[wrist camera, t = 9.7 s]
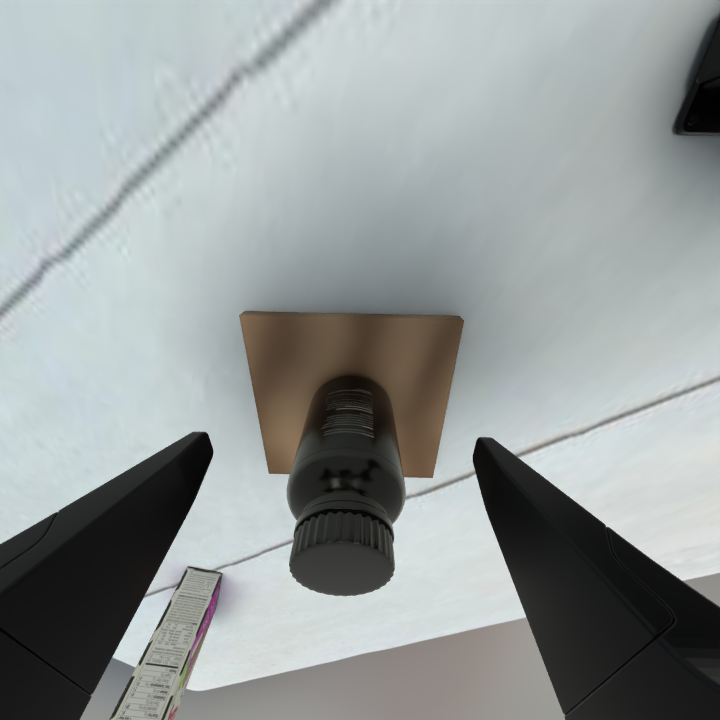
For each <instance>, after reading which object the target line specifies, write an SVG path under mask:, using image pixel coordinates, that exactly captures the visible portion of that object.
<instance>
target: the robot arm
mask: <svg viewBox="0 0 720 720" xmlns="http://www.w3.org/2000/svg"><path fill="white" fill-rule="evenodd" d="M690 118H691V123H690V125H689V124H688V122H689V119H690ZM675 128H676V132H677V133H678V134H681V135H720V21H719V24H718V26H717V28H716V31H715V33H714V35H713V38H712V40H711V42H710V45H709V47H708V50H707V52H706V54H705V57H704V59H703V61H702V64H701V66H700V69H699V71H698V73H697V76H696V78H695V80H694V83H693V85H692V88H691V90H690V92H689V95H688V97H687V99H686V102H685V104H684V106H683V109H682V111H681V114H680V116H679V118H678V121H677V123H676V127H675ZM212 457H213V448H212V445H211V442H210V439H209V436H208V434H207V433H206V432H192V433H190V434H188V435H187V436H185V437H183V438H182V439H180V440H178V441H177V442H175V443H173V444H171V445H170V446H168V447H166V448H165V449H163V450H161V451H159V452H158V453H156V454H154V455H153V456H151V457H149V458H148V459H146V460H144V461H142V462H141V463H139V464H137V465H136V466H134V467H132V468H131V469H129V470H127V471H125V472H124V473H122V474H120V475H119V476H117V477H115V478H113V479H112V480H110V481H108V482H107V483H105V484H103V485H102V486H100V487H98V488H96V489H95V490H93V491H91V492H90V493H88V494H86V495H85V496H83V497H81V498H79V499H78V500H76V501H74V502H73V503H71V504H69V505H67V506H66V507H64V508H62V509H61V510H59V512H56V513H54V514H52V515H50V516H49V517H47V518H45V519H44V520H42V521H40V522H38V523H37V524H35V525H33V526H32V527H30V528H28V529H26V530H25V531H23V532H21V533H19V534H18V535H16V536H14V537H12V538H11V539H9V540H7V541H5V542H3V543H2V544H0V720H80V718H81V716H82V714H83V712H84V710H85V708H86V706H87V704H88V702H89V701H90V699H91V694H93V692H94V691H95V689H96V687H97V685H98V683H99V681H100V679H101V677H102V675H103V674H104V672H105V670H106V668H107V666H108V664H109V662H110V660H111V658H112V656H113V655H114V653H115V651H116V649H117V647H118V645H119V643H120V641H121V639H122V638H123V636H124V634H125V632H126V630H127V628H128V626H129V624H130V622H131V620H132V619H133V617H134V615H135V613H136V611H137V609H138V607H139V605H140V603H141V601H142V600H143V598H144V596H145V594H146V592H147V590H148V588H149V586H150V584H151V583H152V581H153V579H154V577H155V575H156V573H157V571H158V569H159V567H160V565H161V564H162V562H163V560H164V558H165V556H166V554H167V552H168V550H169V548H170V546H171V545H172V543H173V541H174V539H175V537H176V535H177V533H178V531H179V529H180V527H181V526H182V524H183V522H184V520H185V518H186V516H187V514H188V512H189V510H190V508H191V506H192V504H193V502H194V500H195V498H196V496H197V494H198V491H199V489H200V486H201V484H202V481H203V479H204V476H205V474H206V472H207V469H208V467H209V464H210V462H211V459H212ZM473 464H474V468H475V471H476V475H477V479H478V483H479V487H480V490H481V494H482V498H483V502H484V505H485V508H486V511H487V514H488V517H489V520H490V522H491V525H492V527H493V530H494V533H495V535H496V538H497V541H498V543H499V546H500V548H501V551H502V554H503V556H504V559H505V562H506V564H507V567H508V570H509V572H510V575H511V577H512V580H513V583H514V585H515V588H516V591H517V593H518V596H519V598H520V601H521V604H522V606H523V609H524V612H525V614H526V617H527V619H528V622H529V625H530V627H531V630H532V633H533V635H534V638H535V640H536V643H537V646H538V648H539V651H540V653H541V656H542V659H543V661H544V664H545V666H546V669H547V672H548V675H549V677H550V680H551V682H552V685H553V688H554V690H555V693H556V696H557V698H558V701H559V703H560V706H561V708H562V711H563V713H564V714H565V720H720V607H719V606H718V605H716V604H715V603H713V602H712V601H710V600H709V599H707V598H706V597H705V596H703V595H702V594H700V593H699V592H697V591H696V590H694V589H693V588H691V587H690V586H689V585H687V584H686V583H684V582H683V581H681V580H680V579H679V578H677V577H676V576H674V575H673V574H672V573H670V572H669V571H667V570H666V569H664V568H663V567H662V566H660V565H659V564H657V563H656V562H655V561H653V560H652V559H650V558H649V557H648V556H646V555H645V554H644V553H642V552H641V551H640V550H638V549H637V548H636V547H634V546H633V545H632V544H630V543H629V542H628V541H626V540H625V539H624V538H622V537H621V536H620V535H618V534H617V533H616V532H614V531H613V530H612V529H610V528H609V527H606V525H605V524H604V523H603V522H601V521H600V520H599V519H597V518H596V517H595V516H593V515H592V514H591V513H589V512H588V511H587V510H586V509H584V508H583V507H582V506H580V505H579V504H578V503H576V502H575V501H574V500H572V499H571V498H570V497H569V496H567V495H566V494H565V493H563V492H562V491H561V490H559V489H558V488H557V487H555V486H554V485H553V484H552V483H550V482H549V481H548V480H546V479H545V478H544V477H542V476H541V475H540V474H539V473H537V472H536V471H535V470H533V469H532V468H531V467H529V466H528V465H527V464H525V463H524V462H523V461H522V460H520V459H519V458H518V457H516V456H515V455H514V454H512V453H511V452H510V451H508V450H507V449H506V448H505V447H503V446H502V445H501V444H499V443H498V442H497V441H495V440H494V439H493V438H490V437H479V438H478V439H477V441H476V445H475V449H474V453H473Z"/></svg>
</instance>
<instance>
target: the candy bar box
mask: <svg viewBox="0 0 720 720" xmlns="http://www.w3.org/2000/svg"><path fill="white" fill-rule="evenodd" d="M221 575H222V574H221V573H218V572H214V571H208V570H202V569H195V568H189V567H188V568H187V569H186V571H185V573H184V575H183V577H182V579H181V581H180V583H179V585H178V586H177V588H176V590H175V592H174V594H173V596H172V598H171V600H170V602H169V604H168V606H167V608H166V610H165V612H164V614H163V616H162V618H161V620H160V622H159V624H158V626H157V628H156V630H155V631H154V633H153V635H152V637H151V639H150V641H149V643H148V645H147V647H146V649H145V651H144V653H143V655H142V657H141V659H140V661H139V663H138V665H137V667H136V669H135V671H134V672H133V674H132V676H131V679H130V680H129V682H128V684H127V686H126V688H125V690H124V692H123V694H122V696H121V698H120V700H119V702H118V704H117V706H116V708H115V710H114V712H113V714H112V716H111V718H110V720H174V718H175V715H176V713H177V710H178V707H179V705H180V702H181V699H182V697H183V694H184V692H185V689H186V686H187V684H188V681H189V678H190V676H191V673H192V670H193V668H194V665H195V663H196V660H197V657H198V655H199V652H200V649H201V647H202V644H203V641H204V639H205V636H206V633H207V631H208V628H209V625H210V623H211V620H212V618H213V615H214V612H215V609H216V603H217V597H218V591H219V586H220V580H221Z"/></svg>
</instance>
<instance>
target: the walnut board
mask: <svg viewBox="0 0 720 720" xmlns="http://www.w3.org/2000/svg"><path fill="white" fill-rule="evenodd" d="M239 316H240V322H241V327H242V332H243V338H244V343H245V348H246V354H247V359H248V364H249V370H250V375H251V380H252V386H253V391H254V396H255V402H256V407H257V412H258V418H259V423H260V428H261V434H262V439H263V444H264V450H265V455H266V460H267V466H268V471H269V474H290V473H291V469H292V466H293V462H294V459H295V455H296V452H297V448H298V445H299V441H300V438H301V434H302V431H303V427H304V424H305V420H306V417H307V413H308V410H309V407H310V403H311V400H312V398H313V396H314V394H315V392H316V391H317V390H318V389H319V388H320V387H321V386H322V385H323V384H324V383H326V382H327V381H329V380H331V379H334V378H337V377H341V376H348V375H353V376H361V377H365V378H367V379H370V380H372V381H374V382H376V383H377V384H378V385H380V386H381V387H382V388H383V389H384V390H385V391H386V393H387V394H388V396H389V398H390V400H391V404H392V408H393V413H394V419H395V426H396V432H397V438H398V444H399V451H400V457H401V463H402V469H403V476H404V477H418V478H433V474H434V469H435V464H436V459H437V454H438V449H439V444H440V438H441V433H442V428H443V423H444V418H445V413H446V408H447V403H448V398H449V393H450V388H451V383H452V378H453V373H454V368H455V363H456V358H457V353H458V348H459V343H460V338H461V333H462V328H463V323H464V320H463V319H462V318H461V317H460V316H431V315H386V314H342V313H298V312H254V311H245V312H243V313H242V314H240V315H239Z"/></svg>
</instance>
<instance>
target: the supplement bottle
mask: <svg viewBox="0 0 720 720" xmlns="http://www.w3.org/2000/svg"><path fill="white" fill-rule="evenodd" d="M405 497H406V491H405V482H404V476H403V469H402V463H401V457H400V451H399V444H398V438H397V432H396V426H395V419H394V413H393V408H392V404H391V400H390V398H389V396H388V394H387V393H386V391H385V390H384V389H383V388H382V387H381V386H380V385H378V384H377V383H376V382H374V381H372V380H370V379H367V378H365V377H361V376H353V375H348V376H341V377H337V378H334V379H331V380H329V381H327V382H326V383H324V384H323V385H322V386H321V387H320V388H319V389H318V390H317V391H316V392H315V394H314V396H313V398H312V400H311V403H310V407H309V410H308V413H307V417H306V420H305V424H304V427H303V431H302V434H301V438H300V441H299V445H298V448H297V452H296V455H295V459H294V462H293V466H292V469H291V473H290V476H289V480H288V485H287V500H288V504H289V507H290V510H291V512H292V514H293V516H294V517H295V519H296V520H297V522H296V526H295V531H294V542H293V546H292V551H291V556H290V561H289V566H290V572H291V573H292V577H294V578H295V579H296V581H297V582H299V583H301V585H302V586H304V587H307V588H308V589H310V590H314V591H316V592H318V593H324V594H327V595H335V596H350V595H351V596H355V595H359V594H365V593H368V592H372V591H374V590H377V589H380V587H382V586H384V585H386V583H387V582H389V581H390V578H391V577H392V576H393V572H394V569H395V562H394V551H393V542H394V532H393V526H392V525H393V524H394V522H395V521H396V520H397V519H398V517H399V515H400V514H401V511H402V509H403V506H404V503H405Z"/></svg>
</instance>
